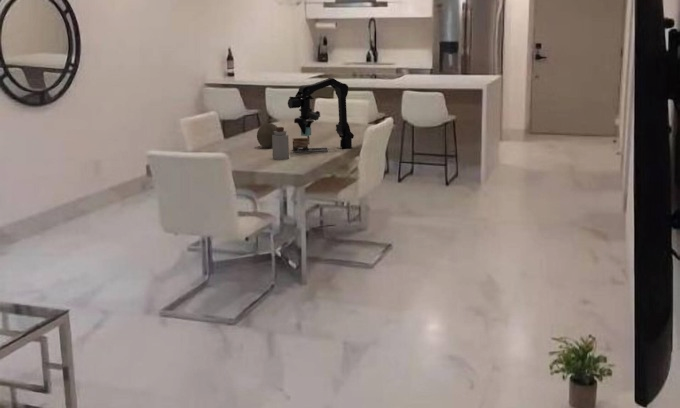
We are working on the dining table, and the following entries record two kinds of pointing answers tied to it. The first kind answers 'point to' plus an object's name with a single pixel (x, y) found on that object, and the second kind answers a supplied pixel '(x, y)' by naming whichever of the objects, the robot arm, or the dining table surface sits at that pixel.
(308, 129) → the block
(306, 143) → the cart
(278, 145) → the perfume bottle
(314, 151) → the rail
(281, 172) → the dining table surface
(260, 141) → the cantaloupe
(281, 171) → the dining table surface
